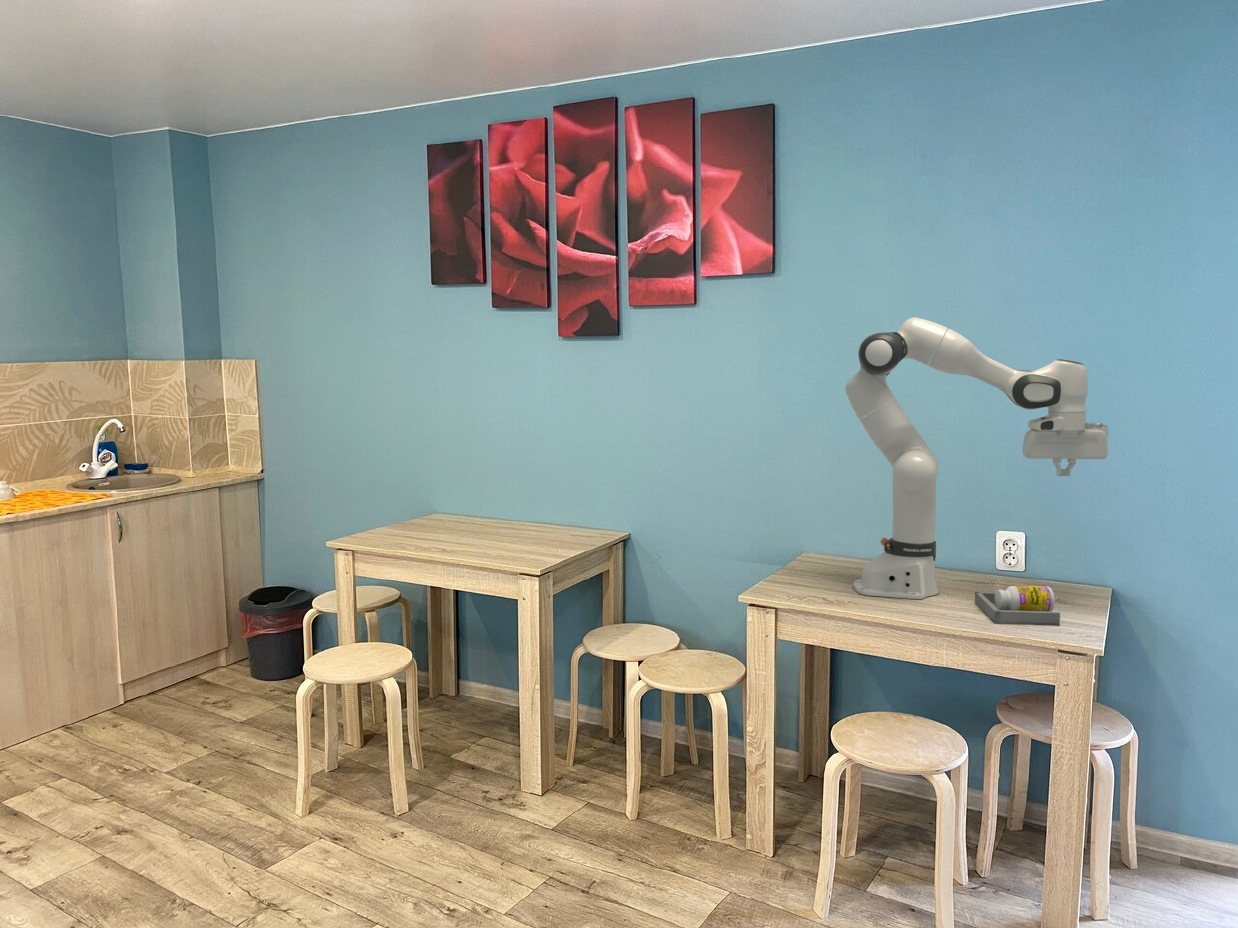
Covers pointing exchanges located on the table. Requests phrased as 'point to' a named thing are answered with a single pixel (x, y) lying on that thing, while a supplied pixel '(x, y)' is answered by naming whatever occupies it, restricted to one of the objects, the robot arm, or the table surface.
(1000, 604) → the supplement bottle
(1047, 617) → the tray
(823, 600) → the table surface
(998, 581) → the table surface
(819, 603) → the table surface
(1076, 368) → the robot arm
